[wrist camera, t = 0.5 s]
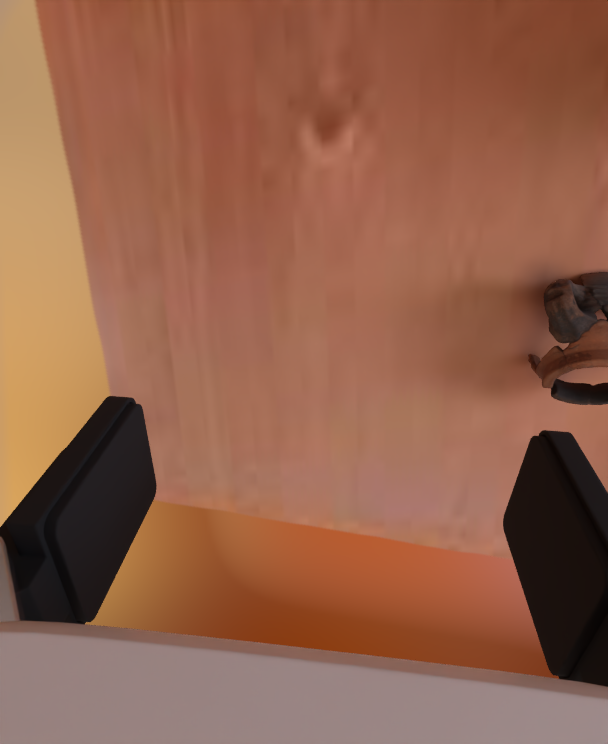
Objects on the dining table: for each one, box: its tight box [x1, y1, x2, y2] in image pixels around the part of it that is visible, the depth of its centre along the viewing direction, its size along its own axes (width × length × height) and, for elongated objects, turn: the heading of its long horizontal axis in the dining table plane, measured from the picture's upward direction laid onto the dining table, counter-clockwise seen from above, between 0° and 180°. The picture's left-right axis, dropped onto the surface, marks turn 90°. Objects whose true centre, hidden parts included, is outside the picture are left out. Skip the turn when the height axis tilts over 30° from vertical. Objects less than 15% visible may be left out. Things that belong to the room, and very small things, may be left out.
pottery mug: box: [528, 272, 608, 405], centre depth 38 cm, size 12×10×8 cm
